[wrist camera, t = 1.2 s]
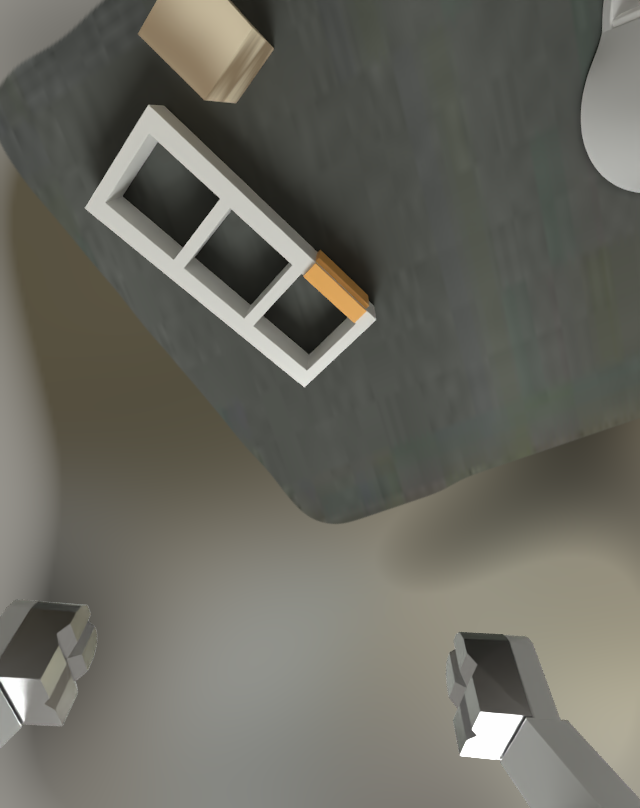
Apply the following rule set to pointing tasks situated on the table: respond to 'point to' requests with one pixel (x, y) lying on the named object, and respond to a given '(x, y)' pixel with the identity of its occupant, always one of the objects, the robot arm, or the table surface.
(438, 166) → the table surface
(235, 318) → the rack
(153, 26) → the wooden block
